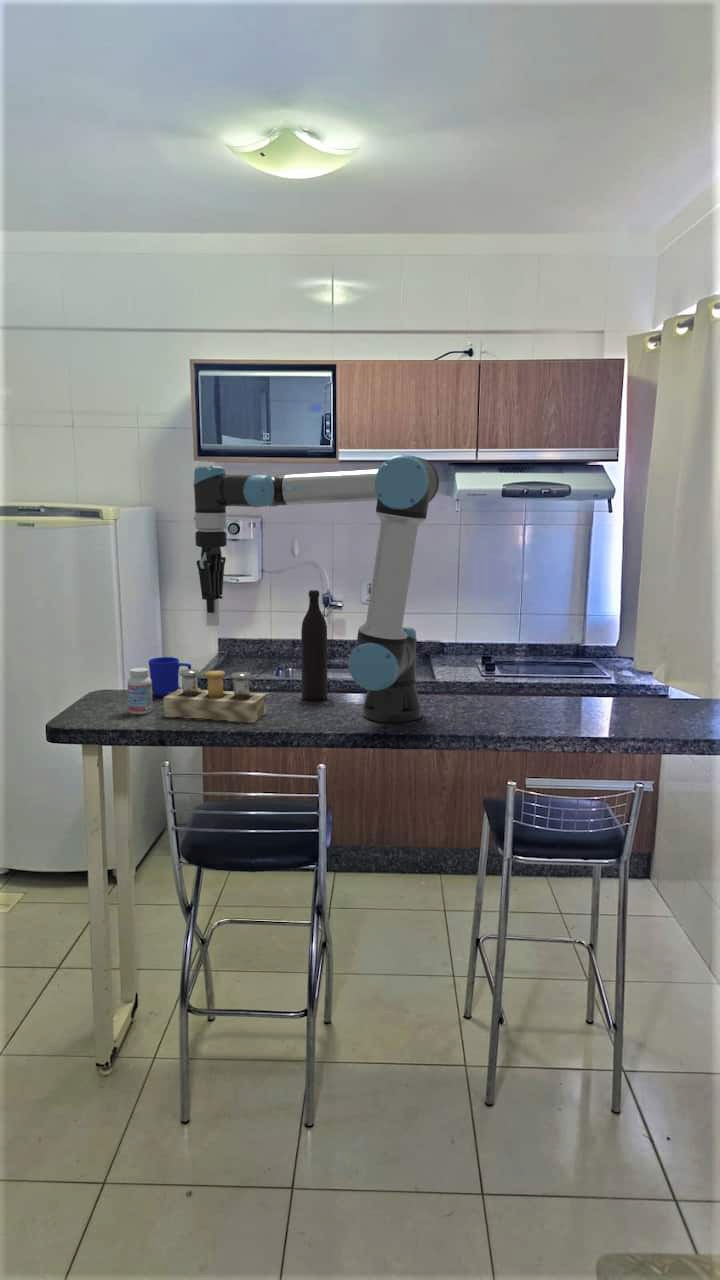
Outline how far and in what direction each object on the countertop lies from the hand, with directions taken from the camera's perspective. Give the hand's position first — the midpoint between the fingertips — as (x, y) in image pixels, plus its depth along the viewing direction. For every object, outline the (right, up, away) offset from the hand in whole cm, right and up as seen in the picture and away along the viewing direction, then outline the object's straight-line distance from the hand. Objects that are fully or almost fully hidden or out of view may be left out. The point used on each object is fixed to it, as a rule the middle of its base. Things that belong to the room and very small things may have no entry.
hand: (213, 625), depth 200 cm
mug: (-16, -19, +24) cm, 35 cm away
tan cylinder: (0, -19, +3) cm, 19 cm away
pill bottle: (-20, -23, +6) cm, 31 cm away
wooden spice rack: (0, -23, +4) cm, 23 cm away
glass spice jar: (+7, -19, +2) cm, 20 cm away
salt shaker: (-7, -18, +5) cm, 20 cm away
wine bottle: (+24, -20, +21) cm, 38 cm away
